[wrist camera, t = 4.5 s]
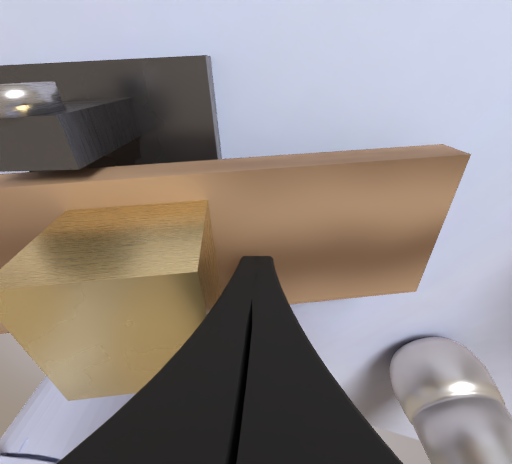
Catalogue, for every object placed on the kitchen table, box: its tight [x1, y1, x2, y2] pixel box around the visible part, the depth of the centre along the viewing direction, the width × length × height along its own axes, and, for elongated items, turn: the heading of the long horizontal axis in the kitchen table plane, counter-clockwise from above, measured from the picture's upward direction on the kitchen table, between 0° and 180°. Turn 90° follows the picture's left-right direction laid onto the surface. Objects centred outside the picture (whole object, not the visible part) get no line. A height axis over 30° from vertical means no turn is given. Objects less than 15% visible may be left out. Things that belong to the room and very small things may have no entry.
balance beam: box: [0, 144, 471, 334], centre depth 13 cm, size 7×30×4 cm, turn 92°
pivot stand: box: [0, 55, 222, 172], centre depth 13 cm, size 14×10×6 cm
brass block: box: [0, 200, 222, 401], centre depth 9 cm, size 5×5×4 cm
